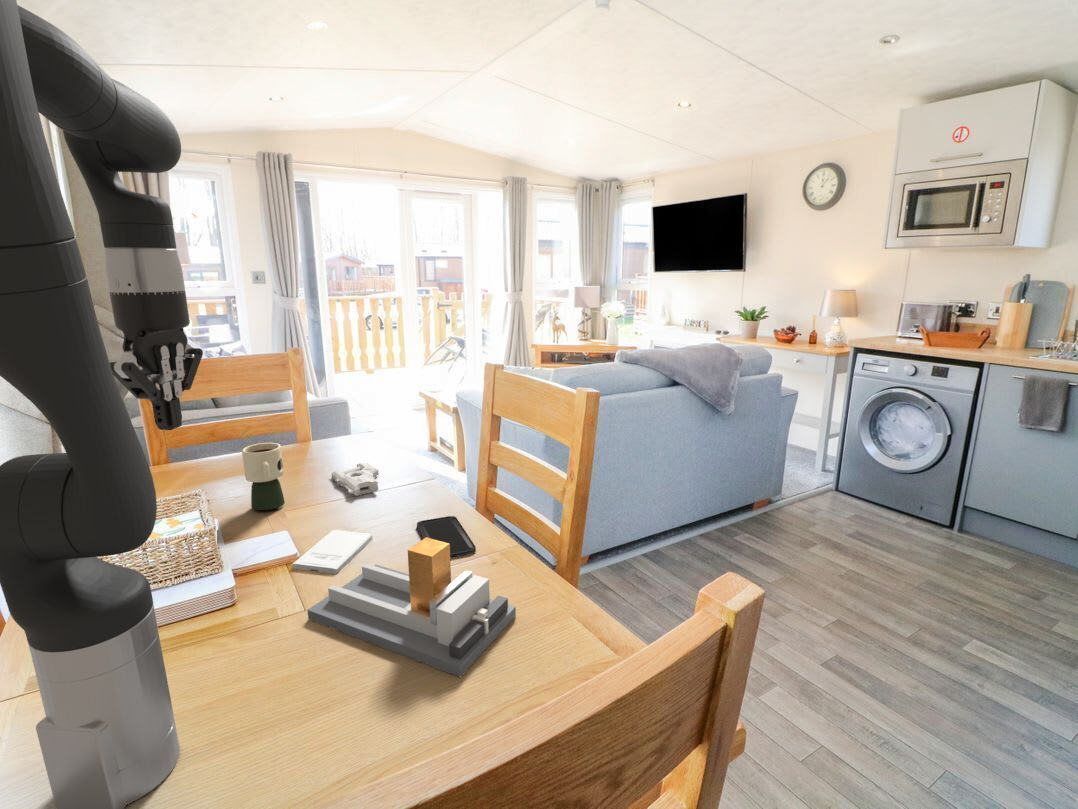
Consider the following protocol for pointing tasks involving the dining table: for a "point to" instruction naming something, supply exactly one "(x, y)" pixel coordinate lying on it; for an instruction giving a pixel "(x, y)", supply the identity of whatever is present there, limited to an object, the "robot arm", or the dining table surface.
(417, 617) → the bench vise
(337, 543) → the external hard drive
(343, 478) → the white mechanical part
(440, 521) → the phone
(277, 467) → the character mug
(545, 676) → the dining table surface
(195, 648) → the dining table surface
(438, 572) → the block
